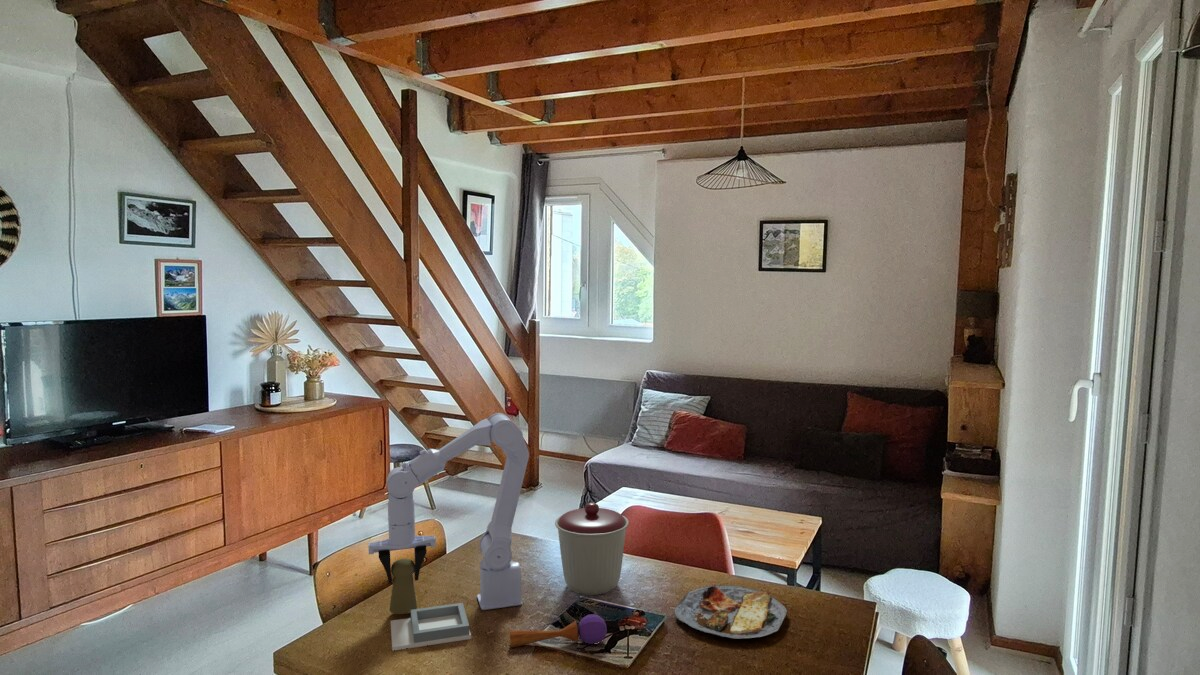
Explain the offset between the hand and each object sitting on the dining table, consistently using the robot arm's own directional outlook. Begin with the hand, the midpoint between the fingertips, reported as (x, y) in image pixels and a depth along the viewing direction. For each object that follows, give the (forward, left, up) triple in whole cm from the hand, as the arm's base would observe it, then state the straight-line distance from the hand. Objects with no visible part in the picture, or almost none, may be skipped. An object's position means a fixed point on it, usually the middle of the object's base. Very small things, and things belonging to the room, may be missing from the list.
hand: (403, 580), depth 162 cm
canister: (-45, -1, -8) cm, 46 cm away
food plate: (-70, +24, -8) cm, 74 cm away
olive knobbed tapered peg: (0, 0, -7) cm, 7 cm away
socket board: (-5, +10, -8) cm, 14 cm away
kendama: (-30, +24, -8) cm, 39 cm away
